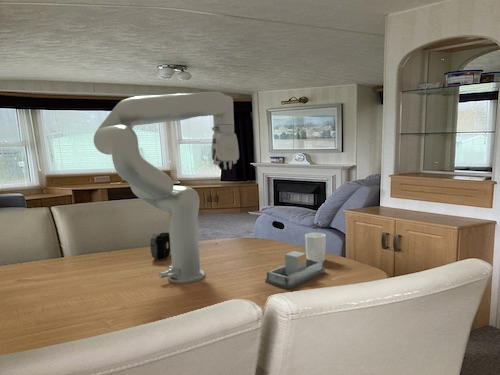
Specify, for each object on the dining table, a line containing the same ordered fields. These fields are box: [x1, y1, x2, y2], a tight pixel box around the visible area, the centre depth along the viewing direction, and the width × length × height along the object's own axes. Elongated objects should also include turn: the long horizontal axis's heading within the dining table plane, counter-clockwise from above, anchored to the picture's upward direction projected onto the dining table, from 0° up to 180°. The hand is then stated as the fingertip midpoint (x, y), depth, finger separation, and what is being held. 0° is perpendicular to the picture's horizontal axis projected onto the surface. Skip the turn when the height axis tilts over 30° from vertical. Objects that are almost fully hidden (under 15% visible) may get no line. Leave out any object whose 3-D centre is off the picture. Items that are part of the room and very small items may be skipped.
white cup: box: [304, 232, 327, 263], centre depth 138 cm, size 8×8×10 cm
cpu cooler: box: [149, 232, 171, 260], centre depth 148 cm, size 10×6×10 cm, turn 178°
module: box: [284, 250, 307, 275], centre depth 121 cm, size 5×5×7 cm
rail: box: [264, 257, 326, 290], centre depth 122 cm, size 20×10×4 cm, turn 136°
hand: (225, 179), depth 136 cm, fingers closed
